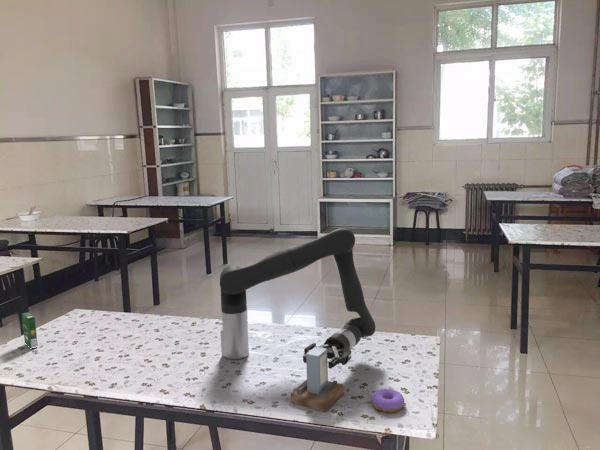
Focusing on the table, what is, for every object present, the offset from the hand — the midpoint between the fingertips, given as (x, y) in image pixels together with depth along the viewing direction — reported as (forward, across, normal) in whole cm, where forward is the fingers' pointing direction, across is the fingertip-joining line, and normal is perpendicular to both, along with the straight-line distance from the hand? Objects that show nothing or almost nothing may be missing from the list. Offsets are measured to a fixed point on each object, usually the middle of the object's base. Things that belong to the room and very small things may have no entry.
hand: (316, 362), depth 151 cm
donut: (-6, +20, +12) cm, 24 cm away
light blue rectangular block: (0, 0, +8) cm, 9 cm away
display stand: (0, 0, +12) cm, 12 cm away
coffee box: (+15, -121, +12) cm, 123 cm away
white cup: (-38, -59, +12) cm, 71 cm away
